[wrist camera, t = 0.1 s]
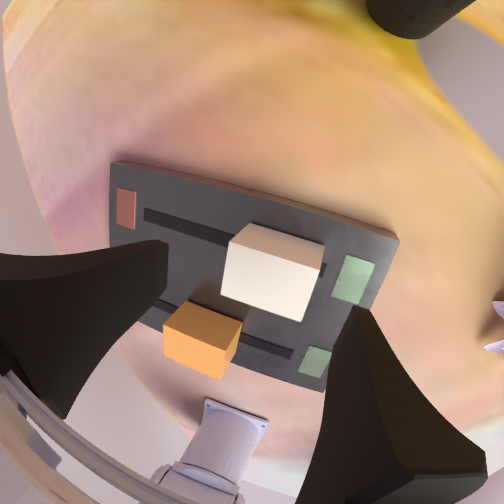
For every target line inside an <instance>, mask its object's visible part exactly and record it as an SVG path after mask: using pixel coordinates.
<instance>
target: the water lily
mask: <svg viewBox="0 0 504 504" xmlns="http://www.w3.org/2000/svg"><path fill="white" fill-rule="evenodd" d="M492 303H493V307H494V309H495V311H496V312H497V313H498V314H499V315H500V316H501V317H502V318H503V319H504V301H493V302H492ZM483 348H484V349H485V350H487V351H490V352H494V353H504V338H501V339H499V340H496V341H494V342H492V343H490V344H488V345H486V346H484V347H483Z"/></svg>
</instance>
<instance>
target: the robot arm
mask: <svg viewBox="0 0 504 504" xmlns="http://www.w3.org/2000/svg"><path fill="white" fill-rule="evenodd" d="M168 255H169V244H168V243H165V242H163V241H160V240H157V239H156V240H146V241H140V242H135V243H130V244H125V245H120V246H115V247H111V248H106V249H100V250H95V251H89V252H83V253H76V254H67V255H56V256H55V255H53V256H23V255H11V254H3V253H0V504H100V503H98V502H96V501H95V500H94V499H92V498H91V497H89V496H88V495H87V494H85V493H84V492H82V491H81V490H80V489H79V488H77V487H76V486H75V485H73V484H72V483H71V482H70V481H68V480H67V479H66V478H65V477H63V476H62V475H61V474H60V473H59V472H58V471H56V467H57V465H58V464H59V463H60V462H61V461H62V459H61V457H60V456H59V455H58V454H57V453H56V452H55V451H54V450H53V449H52V448H51V447H50V446H49V445H48V444H47V443H46V442H45V441H44V439H43V438H42V437H41V436H40V435H39V433H38V432H37V431H36V430H35V428H33V426H32V425H31V424H30V423H29V422H28V421H27V420H26V419H27V416H26V414H27V415H28V416H29V417H30V418H31V419H32V420H33V421H34V422H35V423H36V424H37V425H38V426H39V427H40V428H41V429H42V430H43V431H44V432H45V433H46V434H48V436H49V437H50V438H51V439H53V440H54V441H55V442H56V443H57V444H58V445H60V446H61V447H62V448H63V449H64V450H65V451H66V452H68V453H69V454H70V455H71V456H73V457H74V458H75V459H76V460H78V461H79V462H80V463H82V464H83V465H84V466H85V467H87V468H88V469H90V470H91V471H92V472H94V473H95V474H97V475H98V476H99V477H101V478H102V479H104V480H105V481H107V482H108V483H110V484H111V485H113V486H114V487H116V488H118V489H119V490H121V491H122V492H124V493H126V494H127V495H129V496H131V497H133V498H134V499H136V500H138V501H140V502H139V503H138V504H245V499H244V497H243V495H242V494H240V493H238V491H239V488H240V487H239V484H240V481H241V479H242V477H243V474H244V472H245V469H246V467H247V465H248V462H249V460H250V457H251V455H252V452H253V451H254V450H255V448H256V447H257V445H258V443H259V441H260V440H261V438H262V436H263V434H264V432H265V431H266V429H267V427H268V425H269V422H268V421H267V420H264V419H261V418H258V417H255V416H252V415H249V414H247V413H244V412H241V411H238V410H236V409H233V408H231V407H228V406H225V405H223V404H220V403H218V402H216V401H213V400H211V399H206V400H205V403H204V411H203V418H202V423H201V425H200V427H199V428H198V430H197V432H196V434H195V435H194V437H193V439H192V440H191V442H190V444H189V446H188V448H187V449H186V451H185V452H184V454H183V456H182V458H181V459H180V461H179V462H178V461H175V463H174V464H173V466H171V465H169V464H167V465H165V466H161V467H160V468H158V469H157V470H156V472H155V473H154V475H153V476H152V477H151V479H150V480H149V479H147V478H145V477H143V476H142V475H140V474H138V473H136V472H135V471H133V470H131V469H129V468H128V467H126V466H124V465H123V464H121V463H120V462H118V461H116V460H115V459H113V458H112V457H110V456H108V455H107V454H106V453H104V452H103V451H102V450H100V449H99V448H97V447H96V446H94V445H93V444H92V443H90V442H89V441H87V440H86V439H85V438H83V437H82V436H81V435H79V434H78V433H77V432H75V430H73V429H72V428H71V427H70V426H68V425H67V424H66V423H65V422H64V421H62V420H63V419H66V417H67V415H68V413H69V411H70V409H71V407H72V405H73V403H74V401H75V399H76V397H77V396H78V394H79V392H80V391H81V389H82V387H83V386H84V384H85V383H86V381H87V379H88V378H89V376H90V375H91V373H92V372H93V371H94V369H95V368H96V366H97V365H98V363H99V362H100V361H101V359H102V358H103V357H104V356H105V354H106V353H107V352H108V350H109V349H110V348H111V347H112V345H113V344H114V343H115V342H116V341H117V340H118V339H119V338H120V337H121V336H122V335H123V334H124V333H125V332H126V331H127V330H128V329H129V328H130V327H131V326H132V325H133V324H134V323H135V322H136V321H137V320H138V319H140V318H141V317H142V316H143V315H144V314H145V313H146V312H147V311H148V310H149V309H150V308H151V307H152V306H153V305H154V304H155V302H156V301H157V300H158V299H159V297H160V296H161V295H162V293H163V292H164V291H165V289H166V288H167V276H168ZM487 478H488V474H487V465H486V457H485V452H484V450H482V449H481V448H480V447H478V446H477V445H476V444H474V443H473V442H472V441H471V440H469V439H468V438H467V437H465V436H464V435H463V434H462V433H460V432H459V431H458V430H457V429H456V428H455V427H454V426H453V425H452V424H451V423H449V422H448V421H447V420H446V419H445V418H444V417H443V416H442V415H441V414H440V413H439V412H438V411H437V409H436V408H435V407H434V406H433V405H432V404H431V403H430V402H429V401H428V399H427V398H426V397H425V396H424V395H423V394H422V392H421V391H420V390H419V388H418V387H417V386H416V384H415V383H414V382H413V381H412V379H411V378H410V377H409V375H408V374H407V372H406V371H405V369H404V368H403V366H402V365H401V363H400V362H399V360H398V358H397V357H396V355H395V354H394V352H393V350H392V349H391V347H390V345H389V343H388V342H387V340H386V338H385V336H384V335H383V333H382V331H381V329H380V327H379V326H378V324H377V322H376V320H375V318H374V317H373V315H372V313H371V312H370V310H369V309H366V308H363V307H360V306H357V305H353V306H352V309H351V311H350V313H349V315H348V317H347V319H346V321H345V323H344V326H343V328H342V330H341V332H340V334H339V336H338V338H337V340H336V342H335V344H334V346H333V350H332V354H331V358H330V363H329V367H328V375H327V384H326V393H325V401H324V409H323V417H322V423H321V428H320V432H319V436H318V440H317V443H316V447H315V450H314V453H313V457H312V460H311V463H310V466H309V469H308V472H307V474H306V477H305V480H304V482H303V485H302V487H301V490H300V492H299V495H298V497H297V500H296V502H295V504H455V503H456V502H458V501H460V500H462V499H464V498H466V497H467V496H469V495H471V494H472V493H474V492H475V491H477V490H478V489H479V488H480V487H481V486H483V484H484V483H485V482H486V480H487ZM237 493H238V494H237Z"/></svg>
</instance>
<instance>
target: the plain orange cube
mask: <svg viewBox="0 0 504 504" xmlns="http://www.w3.org/2000/svg"><path fill="white" fill-rule="evenodd" d="M242 323H243V322H240V321H237V320H235V319H232V318H229V317H227V316H224V315H221V314H219V313H216V312H213V311H211V310H208V309H206V308H203V307H201V306H198V305H196V304H193V303H191V302H188V301H185V302H184V303H183V304H182V305H181V306H180V307H179V308H178V309H177V310H176V311H175V312H174V313H173V315H172V316H171V317H170V318H169V319H168V320H167V321H166V322H165V323H164V324H163V347H164V356H166V357H168V358H170V359H172V360H174V361H176V362H179V363H181V364H183V365H185V366H187V367H190V368H192V369H194V370H196V371H199V372H201V373H203V374H206V375H208V376H210V377H213V378H215V379H218V380H221V378H222V376H223V374H224V373H225V371H226V369H227V367H228V365H229V364H230V362H231V360H232V358H233V356H234V354H235V353H236V349H237V345H238V340H239V336H240V332H241V327H242Z"/></svg>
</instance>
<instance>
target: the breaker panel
mask: <svg viewBox="0 0 504 504" xmlns="http://www.w3.org/2000/svg"><path fill="white" fill-rule="evenodd" d="M249 223H252V224H255V225H259V226H262V227H265V228H269V229H272V230H275V231H279V232H282V233H285V234H288V235H292V236H295V237H298V238H301V239H305V240H308V241H311V242H314V243H317V244H320V245H324V246H325V248H324V253H323V258H322V263H321V268H320V272H319V274H318V277H317V280H316V283H315V286H314V289H313V291H312V294H311V297H310V300H309V302H308V305H307V308H306V310H305V313H304V316H303V318H302V321H301V322H299V321H296V320H293V319H290V318H287V317H284V316H281V315H278V314H275V313H272V312H269V311H266V310H263V309H260V308H257V307H254V306H251V305H249V304H246V303H243V302H240V301H237V300H235V299H232V298H229V297H226V296H223V295H221V288H222V281H223V275H224V269H225V263H226V257H227V251H228V246H229V241H230V240H231V239H232V238H234V237H235V236H236V235H237V234H238V233H239V232H240V231H241V230H242V229H243V228H244V227H246V226H247V225H248V224H249ZM109 229H110V248H111V247H115V246H120V245H125V244H130V243H135V242H140V241H146V240H156V239H157V240H160V241H163V242H165V243H168V244H169V255H168V276H167V288H166V289H165V291H164V292H163V293H162V295H161V296H160V297H159V299H158V300H157V301H156V302H155V304H154V305H153V306H152V307H151V308H150V309H149V310H148V311H147V312H146V313H145V314H144V315H143V316H142V317H141V318H140V319H138V320H137V321H139V322H141V323H143V324H145V325H147V326H149V327H151V328H153V329H155V330H157V331H159V332H161V333H163V324H164V323H165V322H166V321H167V320H168V319H169V318H170V317H171V316H172V315H173V313H174V312H175V311H176V310H177V309H178V308H179V307H180V306H181V305H182V304H183V303H184V302H185V301H188V302H191V303H193V304H196V305H198V306H201V307H203V308H206V309H208V310H211V311H213V312H216V313H219V314H221V315H224V316H227V317H229V318H232V319H235V320H237V321H240V322H243V323H242V327H241V332H240V336H239V340H238V345H237V349H236V353H235V354H234V356H233V358H232V360H231V363H234V364H236V365H239V366H242V367H244V368H247V369H250V370H253V371H255V372H258V373H261V374H264V375H267V376H270V377H273V378H276V379H279V380H282V381H285V382H288V383H291V384H294V385H298V386H301V387H304V388H308V389H311V390H314V391H318V392H322V393H323V392H324V390H325V389H326V384H327V375H328V367H329V363H330V358H331V354H332V350H333V346H334V344H335V342H336V340H337V338H338V336H339V334H340V332H341V330H342V328H343V326H344V323H345V321H346V319H347V317H348V315H349V313H350V311H351V309H352V306H353V305H357V306H360V307H363V308H366V309H369V310H370V308H371V306H372V304H373V302H374V300H375V298H376V296H377V294H378V291H379V289H380V287H381V285H382V283H383V280H384V278H385V276H386V274H387V271H388V269H389V267H390V264H391V262H392V260H393V257H394V255H395V252H396V250H397V247H398V245H399V242H400V241H399V239H398V237H397V235H396V234H395V233H392V232H389V231H387V230H384V229H381V228H378V227H375V226H372V225H369V224H366V223H363V222H360V221H357V220H354V219H351V218H348V217H345V216H342V215H339V214H335V213H332V212H329V211H326V210H323V209H319V208H316V207H313V206H309V205H306V204H303V203H299V202H296V201H292V200H289V199H285V198H282V197H278V196H275V195H271V194H268V193H264V192H260V191H256V190H253V189H249V188H245V187H241V186H237V185H233V184H229V183H225V182H221V181H217V180H213V179H209V178H204V177H200V176H196V175H191V174H187V173H182V172H178V171H173V170H169V169H164V168H159V167H154V166H149V165H144V164H139V163H134V162H128V161H118V162H113V163H111V169H110V196H109Z"/></svg>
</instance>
